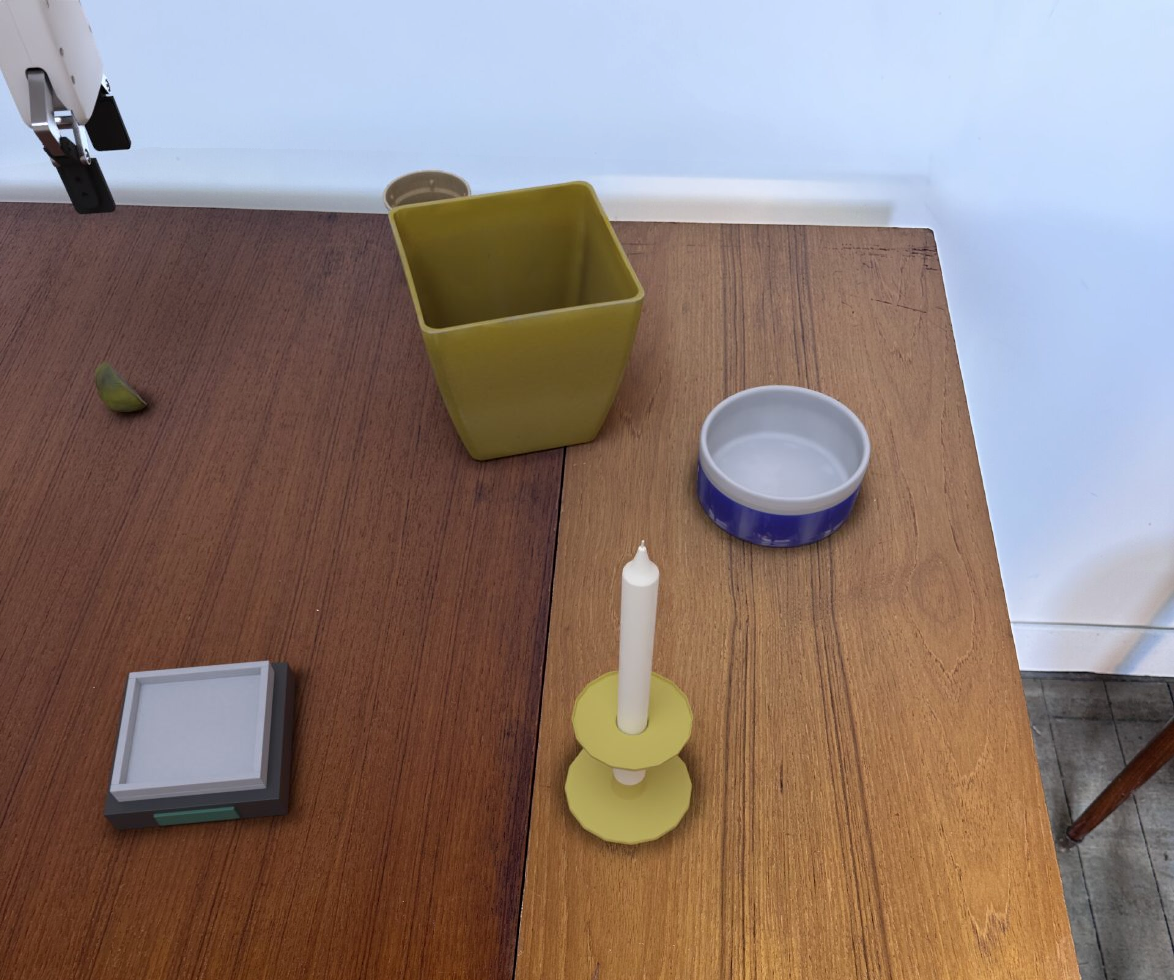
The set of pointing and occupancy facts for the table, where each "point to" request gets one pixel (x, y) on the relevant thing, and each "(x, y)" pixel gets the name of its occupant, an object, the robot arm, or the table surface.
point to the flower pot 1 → (424, 188)
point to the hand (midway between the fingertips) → (105, 179)
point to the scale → (202, 745)
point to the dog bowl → (781, 465)
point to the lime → (116, 390)
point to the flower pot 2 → (521, 312)
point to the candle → (631, 731)
